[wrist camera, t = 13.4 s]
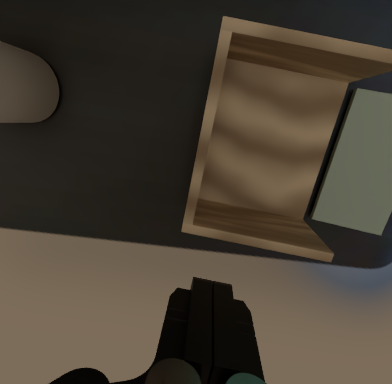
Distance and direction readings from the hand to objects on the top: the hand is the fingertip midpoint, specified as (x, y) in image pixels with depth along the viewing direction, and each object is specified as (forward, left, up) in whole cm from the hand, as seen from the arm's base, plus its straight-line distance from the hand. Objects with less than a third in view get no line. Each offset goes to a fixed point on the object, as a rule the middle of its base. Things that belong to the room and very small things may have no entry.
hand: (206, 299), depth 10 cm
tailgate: (-5, +15, -26) cm, 30 cm away
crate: (-5, +6, -27) cm, 28 cm away
